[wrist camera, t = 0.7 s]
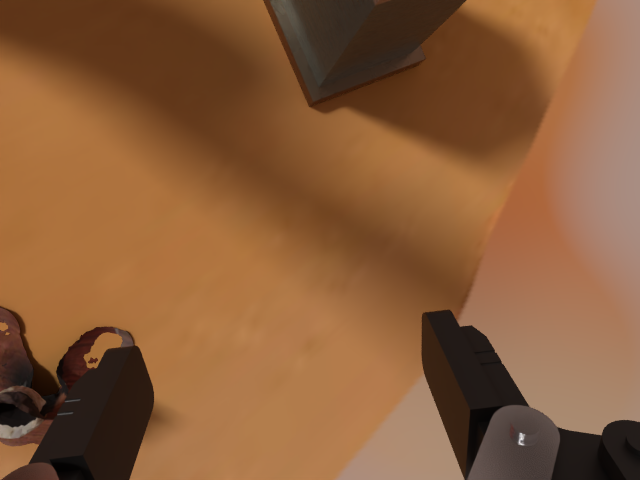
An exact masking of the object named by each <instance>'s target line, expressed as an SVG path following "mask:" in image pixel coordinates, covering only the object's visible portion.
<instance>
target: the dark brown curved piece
mask: <svg viewBox="0 0 640 480" xmlns="http://www.w3.org/2000/svg"><path fill="white" fill-rule="evenodd" d="M0 322H2V323H4V322H5V323H6V324H7V325H8V329H7V330H5V331H1V330H0V441H1V442H2V443H3V444H5V445H9V446H22V445H26V444H29V443H35V444H39V445H40V443H41V441H42V439H43V437H44V436H45V434H46V432H47V430H48V429H49V427H50V425H51V423H52V422H53V420H54V418H55V416H57V415H58V414H57V413H58V411H59V409H60V407H61V406H62V404H63V403H65V399H66V397H67V395H68V393H69V391H70V390H71V388H72V386H73V384H74V383H75V382H76V381H77V380H79V379H80V378H81V377H82V376H83V375H84V374H85V373H86V372H87V371H88V370H90V368H87V366H86V361H85V360H84V358H83V357H84V354H87V353H89V352H90V349H91V346H93V344H94V342H95V340H96V339H97V338H98V337H99V335H101V334H102V333H105V332H110V333H115V334H118V335H120V336H121V337H122V340H123V342H122V344H121V347H128V346H133V341H132V338H131V336H130V335H129V334H128V332H126V331H124V330H119V329H116V328H113V327H96V328H95V329H93V330H91V331H88V332H86V333H85V334H84V335H81V337H80V340H78V341H76V342H75V343H74V344H73V345H72V346H71V347H69V349H68V351H67V353H66V354H65V355H64V356H63V358H62V359H61V360H60V362H59V366H58V367H57V371H56V373H57V377H58V380H59V383H60V385H62V386H61V387H60V389H59V392H58V393H56V394H52V395H48V396H40V395H39V394H38V393H37V392H36V391H34V390H33V389H32V377H33V371H34V369H33V367H32V364H31V363H30V360H29V359H28V357H27V355H26V350H25V349H24V347H23V342H22V340H21V337H20V335H19V333H20V327H19V324H18V322H17V320H16V319H15V317H14V316H13V315H12V314H11V313H10V312H9V311H8V310H5V309H3V308H1V307H0ZM6 332H8V333H11V334H9V335H5V334H6ZM87 356H88V355H87ZM96 361H98V359H97V358H96V359H93V358H90V361H89V362H88V363H93V362H95V363H96ZM91 369H97V368H94V367H93V368H91Z"/></svg>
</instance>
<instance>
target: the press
mask: <svg viewBox="0 0 640 480" xmlns="http://www.w3.org/2000/svg"><path fill="white" fill-rule="evenodd" d="M263 1H264V3H265V5H266V7H267V10H268V12H269V14H270V17H271V19H272V21H273V24H274V26H275V28H276V31H277V33H278V35H279V38H280V40H281V42H282V45H283V47H284V49H285V51H286V54H287V56H288V58H289V61H290V63H291V65H292V68H293V70H294V72H295V75H296V77H297V79H298V82H299V84H300V86H301V88H302V91H303V93H304V95H305V98H306V100H307V102H308V105H309V107H311V106H313V105H316V104H318V103H321V102H324V101H326V100H329V99H331V98H334V97H337V96H339V95H342V94H345V93H347V92H350V91H352V90H355V89H358V88H360V87H363V86H365V85H368V84H371V83H373V82H376V81H378V80H381V79H384V78H386V77H389V76H391V75H394V74H397V73H399V72H402V71H404V70H407V69H410V68H412V67H415V66H417V65H419V64H420V63H422V62H423V61H424V60H425V59H426V58H425V55H424V53H423V51H422V48H421V46H420V45H421V44H422V43H423V42H424V41H425V40H426V39H427V38H428V37H429V36H430V35H431V34H432V33H433V32H434V31H435V30H436V29H437V28H438V27H439V26H441V25H442V24H443V23H444V22H445V21H446V20H447V19H448V18H449V17H450V16H451V15H452V14H453V13H454V12H455V11H456V10H457V9H458V8H459V7H460V6H461V5H462V4H463V3H464V2H465V1H466V0H263Z"/></svg>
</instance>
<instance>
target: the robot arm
mask: <svg viewBox="0 0 640 480" xmlns="http://www.w3.org/2000/svg"><path fill="white" fill-rule="evenodd" d="M422 364H423V370H424V374H425V377H426V380H427V382H428V385H429V388H430V390H431V393H432V396H433V398H434V401H435V403H436V406H437V408H438V411H439V414H440V417H441V419H442V422H443V424H444V427H445V430H446V432H447V435H448V437H449V440H450V443H451V445H452V448H453V451H454V453H455V456H456V458H457V461H458V464H459V466H460V469H461V472H462V474H463V477H464V479H465V480H640V422H636V421H630V420H619V421H615V422H611V423H610V424H608V425H607V426H606V427H605V428H604V430H603V433H602V435H594V434H589V433H581V432H574V431H569V430H565V429H562V428H558V427H556V426H555V424H554V423H553V422H552V420H550V419H549V418H548V417H547V416H546V415H544V414H543V413H541V412H540V411H538V410H536V409H533V408H530V407H529V405H528V404H527V402H526V401H525V399H524V397H523V396H522V394H521V392H520V391H519V389H518V387H517V386H516V384H515V383H514V381H513V379H512V378H511V376H510V374H509V373H508V371H507V370H506V368H505V366H504V365H503V364H502V363H501V360H500V358H499V357H498V355H497V353H495V350H494V348H493V347H492V345H491V344H490V342H489V340H488V339H487V337H486V336H485V335H484V334H482V333H481V332H480V331H478V330H477V329H476V328H474V327H473V326H463V327H460V326H459V324H458V323H457V321H456V319H455V317H454V315H453V313H452V312H451V311H450V310H442V311H434V312H425V313H423V315H422ZM153 404H154V391H153V386H152V383H151V380H150V377H149V374H148V371H147V368H146V365H145V362H144V359H143V357H142V354H141V351H140V349H139V347H138V346H128V347H119V348H110V349H108V350H106V352H105V353H104V355H103V357H102V359H101V361H100V363H99V365H98V367H97V369H90V370H88V371H87V372H86V373H85V374H84V375H83V376H82V377H81V378H80V379H79V380H77V381H76V382H75V383H74V384H73V386H72V388H71V390H70V391H69V393H68V395H67V397H66V399H65V403H63V404H62V406H61V407H60V409H59V411H58V413H57V414H58V415H57V416H55V418H54V420H53V422H52V423H51V425H50V427H49V429H48V430H47V432H46V434H45V436H44V437H43V439H42V441H41V443H40V445H39V446H38V448H37V450H36V452H35V453H34V455H33V457H32V459H31V460H30V462H29V464H28V465H25V466H23V467H20V468H18V469H16V470H15V471H13V472H11V473H10V474H8V475H7V476H6V477H4V478H3V479H2V480H129V479H130V476H131V473H132V470H133V467H134V464H135V461H136V458H137V455H138V452H139V449H140V446H141V443H142V440H143V437H144V434H145V431H146V428H147V424H148V421H149V418H150V415H151V412H152V409H153Z"/></svg>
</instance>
